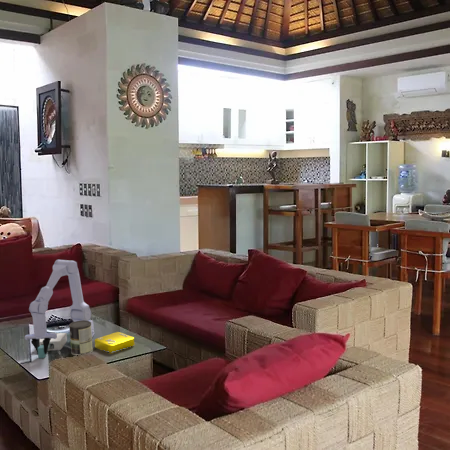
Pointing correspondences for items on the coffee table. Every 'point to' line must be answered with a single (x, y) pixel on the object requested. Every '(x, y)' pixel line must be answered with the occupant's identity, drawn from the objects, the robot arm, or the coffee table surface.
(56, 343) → the housing
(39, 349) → the block
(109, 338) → the element tile
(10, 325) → the coffee table surface
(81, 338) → the coffee can
